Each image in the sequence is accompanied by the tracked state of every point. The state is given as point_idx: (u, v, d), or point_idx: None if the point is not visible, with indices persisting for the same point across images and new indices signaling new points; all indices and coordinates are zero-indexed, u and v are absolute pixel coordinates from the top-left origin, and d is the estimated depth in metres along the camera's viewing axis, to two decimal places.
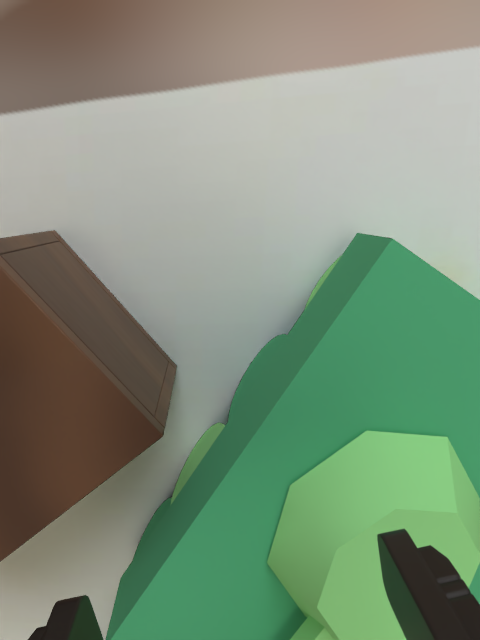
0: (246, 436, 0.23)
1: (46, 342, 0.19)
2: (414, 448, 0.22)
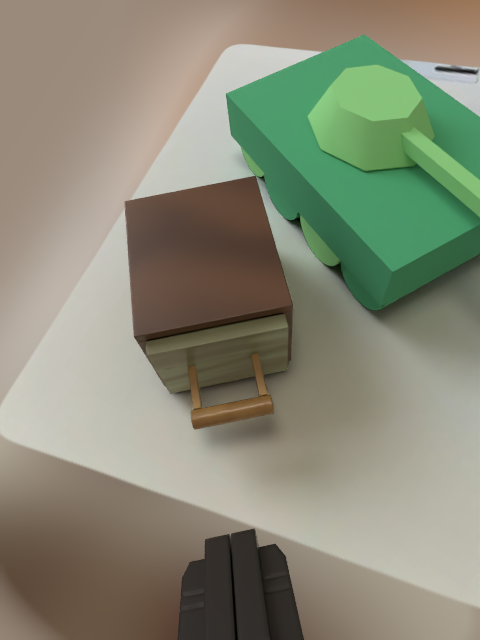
0: (288, 167, 0.42)
1: (180, 197, 0.38)
2: None
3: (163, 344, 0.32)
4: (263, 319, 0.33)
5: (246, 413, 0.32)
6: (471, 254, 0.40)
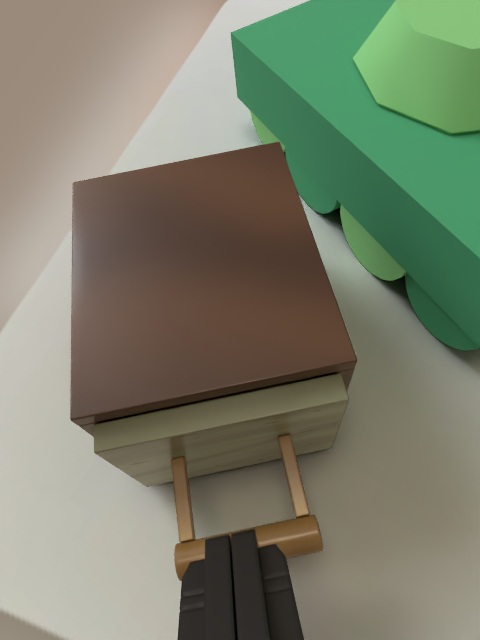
0: (326, 132, 0.28)
1: (161, 175, 0.24)
2: None
3: (124, 430, 0.18)
4: (303, 384, 0.18)
5: None
6: None
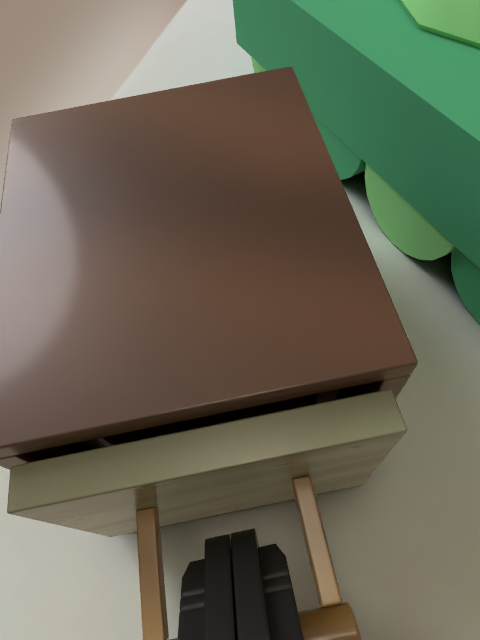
0: (351, 65, 0.21)
1: (131, 109, 0.18)
2: None
3: (57, 477, 0.12)
4: (334, 405, 0.12)
5: None
6: None
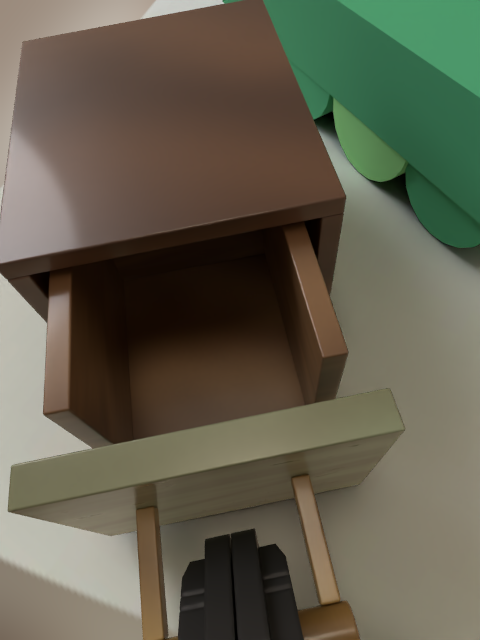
0: (316, 4, 0.24)
1: (124, 31, 0.21)
2: None
3: (57, 476, 0.12)
4: (333, 404, 0.12)
5: None
6: None
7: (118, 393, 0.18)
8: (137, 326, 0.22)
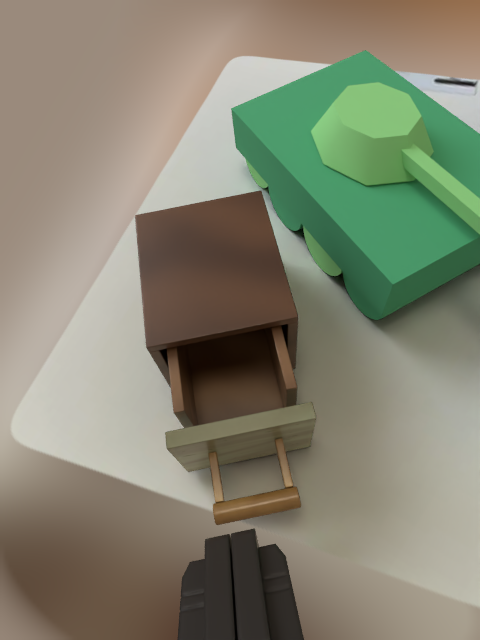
0: (291, 181, 0.43)
1: (189, 211, 0.40)
2: None
3: (184, 436, 0.31)
4: (289, 408, 0.31)
5: (272, 508, 0.30)
6: (469, 265, 0.41)
7: (192, 402, 0.37)
8: (195, 365, 0.40)
